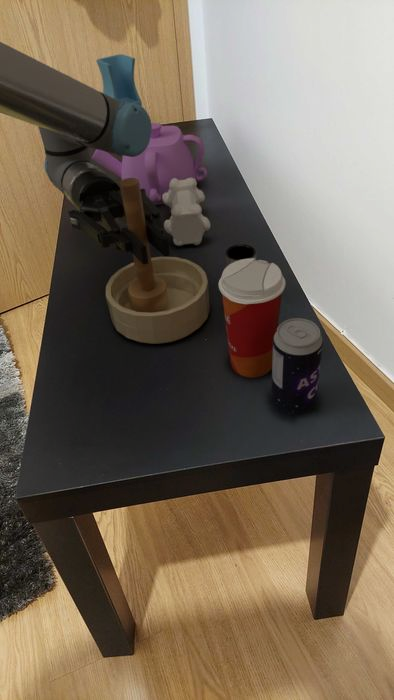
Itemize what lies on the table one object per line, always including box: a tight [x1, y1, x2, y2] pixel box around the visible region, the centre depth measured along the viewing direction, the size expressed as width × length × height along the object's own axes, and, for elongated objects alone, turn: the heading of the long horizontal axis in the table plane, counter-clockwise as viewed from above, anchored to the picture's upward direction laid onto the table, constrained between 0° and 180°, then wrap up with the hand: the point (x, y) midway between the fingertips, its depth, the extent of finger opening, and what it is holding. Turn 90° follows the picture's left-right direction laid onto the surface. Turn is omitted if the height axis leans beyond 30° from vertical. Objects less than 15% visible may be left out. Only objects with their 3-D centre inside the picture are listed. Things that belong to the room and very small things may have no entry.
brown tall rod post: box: [119, 178, 168, 313], centre depth 74 cm, size 6×6×20 cm
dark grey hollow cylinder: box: [224, 243, 257, 268], centre depth 78 cm, size 4×4×10 cm
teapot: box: [91, 122, 208, 206], centre depth 111 cm, size 19×21×14 cm
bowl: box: [105, 256, 211, 345], centre depth 80 cm, size 16×16×6 cm
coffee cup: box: [218, 258, 286, 378], centre depth 67 cm, size 8×8×15 cm
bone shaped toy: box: [162, 178, 211, 247], centre depth 99 cm, size 15×9×8 cm, turn 5°
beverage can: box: [271, 317, 324, 415], centre depth 62 cm, size 6×6×12 cm
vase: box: [96, 53, 143, 107], centre depth 136 cm, size 8×8×20 cm
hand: (155, 251), depth 69 cm, fingers closed on brown tall rod post, 3 cm apart
